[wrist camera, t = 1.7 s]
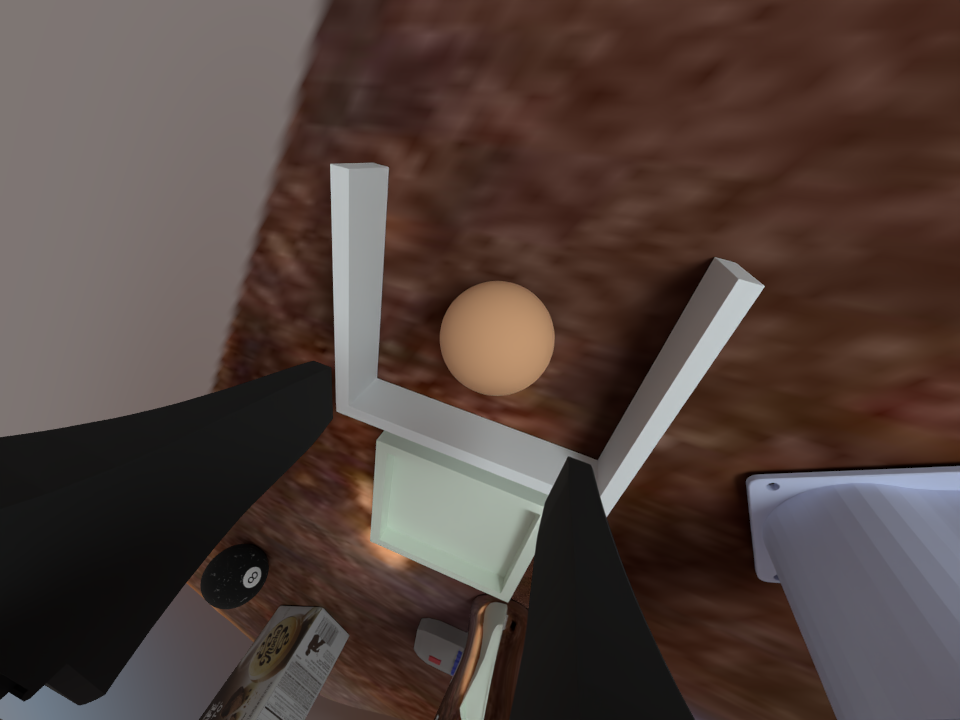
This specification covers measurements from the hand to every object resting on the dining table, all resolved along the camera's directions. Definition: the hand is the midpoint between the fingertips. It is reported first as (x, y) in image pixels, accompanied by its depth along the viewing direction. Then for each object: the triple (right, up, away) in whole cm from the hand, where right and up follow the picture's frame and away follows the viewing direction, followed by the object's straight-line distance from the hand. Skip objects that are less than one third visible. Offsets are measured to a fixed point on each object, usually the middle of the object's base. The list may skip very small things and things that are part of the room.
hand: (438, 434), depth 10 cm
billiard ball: (-25, -20, +31) cm, 45 cm away
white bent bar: (+2, +3, +8) cm, 9 cm away
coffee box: (-21, -32, +37) cm, 53 cm away
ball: (+3, +4, +7) cm, 9 cm away
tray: (-1, -9, +16) cm, 19 cm away
